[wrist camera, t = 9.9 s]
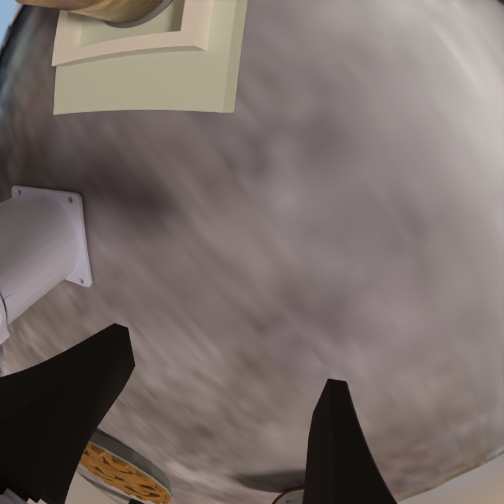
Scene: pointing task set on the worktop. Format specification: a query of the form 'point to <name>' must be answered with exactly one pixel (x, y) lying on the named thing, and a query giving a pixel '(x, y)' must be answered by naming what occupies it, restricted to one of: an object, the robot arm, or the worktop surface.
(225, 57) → the cream peg hole base
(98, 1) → the spout can
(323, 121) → the worktop surface
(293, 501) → the tin
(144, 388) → the worktop surface
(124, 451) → the pie
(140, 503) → the travel mug
